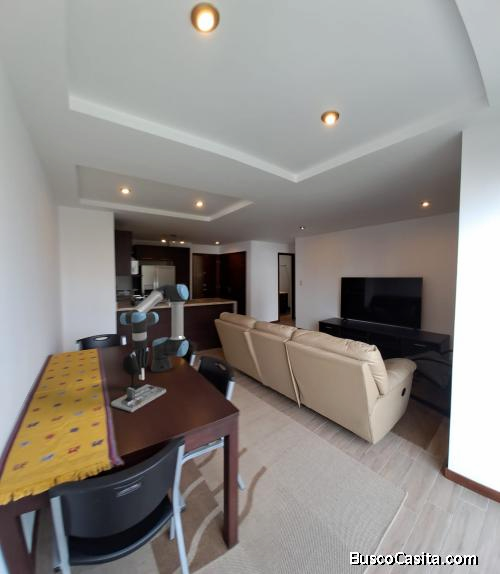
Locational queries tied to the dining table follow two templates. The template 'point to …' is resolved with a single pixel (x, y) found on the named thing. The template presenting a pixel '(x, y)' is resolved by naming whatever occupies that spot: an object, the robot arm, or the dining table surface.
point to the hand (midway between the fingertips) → (141, 379)
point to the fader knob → (130, 393)
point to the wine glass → (130, 372)
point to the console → (139, 398)
